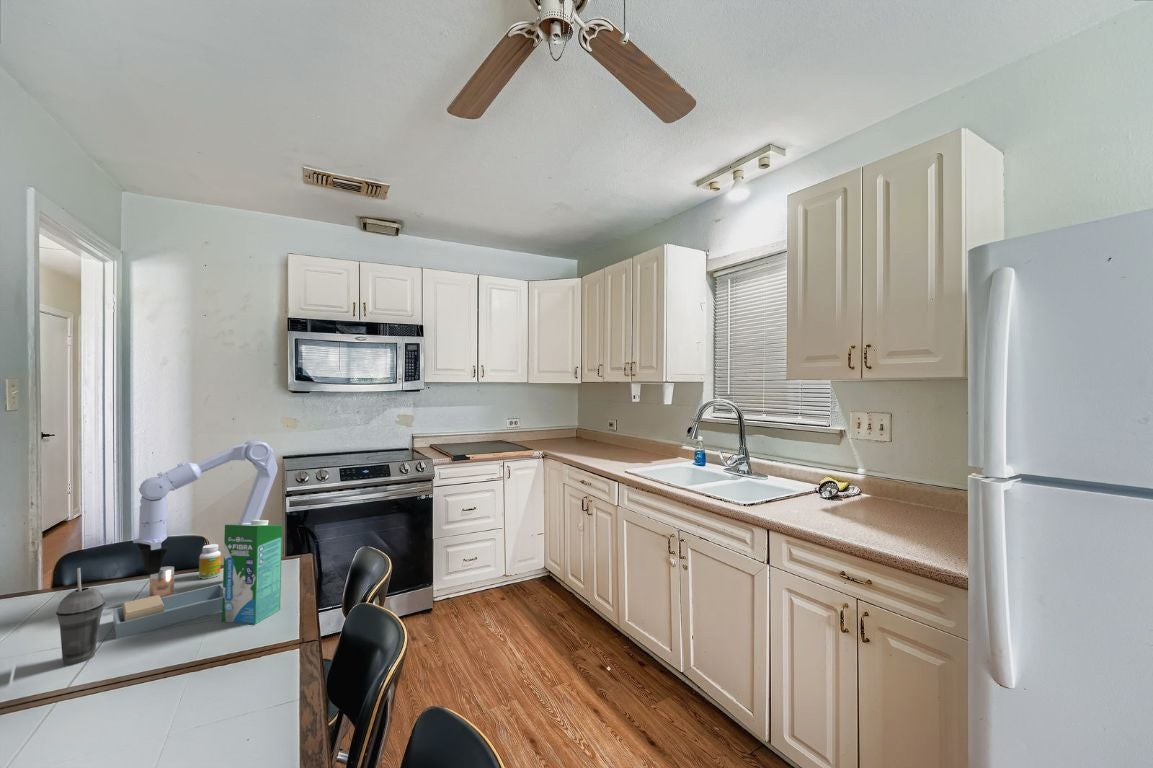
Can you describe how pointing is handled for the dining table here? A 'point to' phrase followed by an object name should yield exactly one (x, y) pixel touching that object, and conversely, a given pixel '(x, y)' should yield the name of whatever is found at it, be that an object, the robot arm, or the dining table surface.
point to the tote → (173, 611)
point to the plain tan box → (142, 608)
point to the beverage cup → (79, 623)
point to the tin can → (162, 582)
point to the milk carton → (251, 571)
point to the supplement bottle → (209, 562)
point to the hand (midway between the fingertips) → (152, 570)
